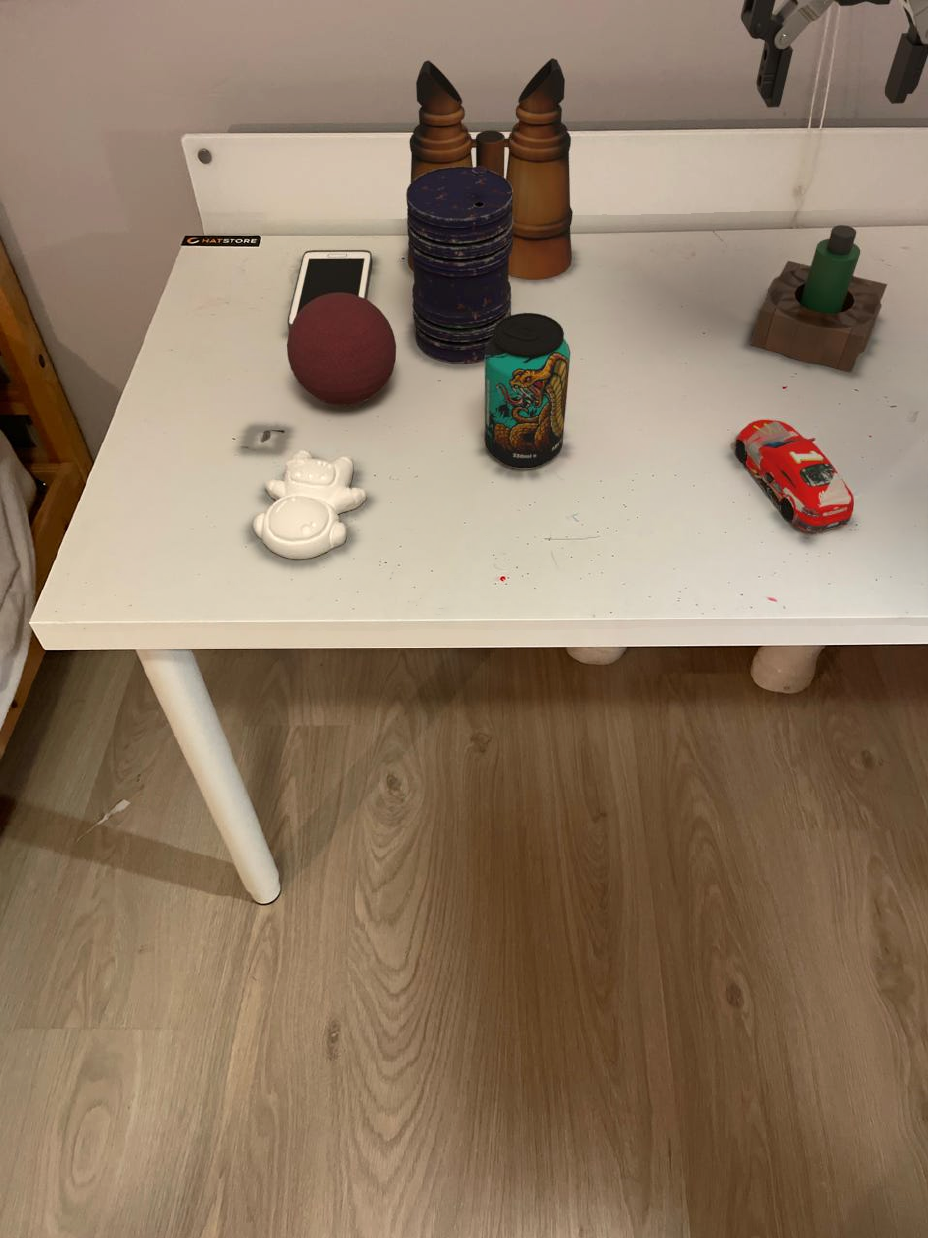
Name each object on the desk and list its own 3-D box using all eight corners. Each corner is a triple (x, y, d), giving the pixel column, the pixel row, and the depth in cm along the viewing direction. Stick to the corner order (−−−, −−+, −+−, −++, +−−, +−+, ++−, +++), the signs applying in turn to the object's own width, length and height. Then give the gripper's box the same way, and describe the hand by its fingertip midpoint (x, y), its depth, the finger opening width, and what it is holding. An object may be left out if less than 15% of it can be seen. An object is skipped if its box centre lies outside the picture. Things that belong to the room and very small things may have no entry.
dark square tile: (279, 453, 85) (276, 444, 84) (247, 452, 85) (244, 443, 84) (284, 430, 87) (282, 421, 86) (253, 429, 87) (250, 420, 86)
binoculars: (406, 280, 102) (391, 84, 86) (409, 241, 107) (396, 49, 91) (574, 278, 101) (590, 81, 86) (569, 239, 107) (583, 46, 91)
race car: (723, 443, 84) (732, 407, 81) (777, 430, 85) (788, 395, 82) (797, 543, 76) (810, 508, 73) (856, 528, 77) (871, 493, 74)
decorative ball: (280, 382, 91) (261, 290, 83) (372, 351, 94) (362, 259, 86) (321, 440, 85) (305, 348, 78) (418, 405, 88) (411, 312, 81)
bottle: (837, 326, 95) (871, 225, 87) (827, 347, 93) (861, 245, 85) (798, 316, 96) (828, 215, 88) (787, 336, 94) (817, 235, 86)
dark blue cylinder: (395, 330, 96) (380, 153, 82) (470, 296, 100) (468, 121, 86) (453, 377, 91) (448, 197, 77) (530, 339, 95) (538, 161, 81)
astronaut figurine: (381, 471, 83) (378, 445, 80) (332, 569, 76) (327, 543, 73) (290, 454, 84) (285, 428, 82) (234, 548, 77) (226, 522, 75)
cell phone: (373, 257, 105) (372, 249, 104) (362, 334, 95) (361, 325, 95) (305, 257, 105) (303, 249, 104) (287, 334, 96) (285, 325, 95)
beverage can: (538, 483, 81) (546, 369, 72) (470, 456, 84) (468, 342, 74) (575, 437, 85) (587, 323, 76) (509, 413, 87) (512, 299, 78)
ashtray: (878, 318, 96) (891, 283, 93) (853, 375, 90) (866, 339, 87) (776, 292, 99) (785, 257, 96) (746, 346, 93) (755, 310, 90)
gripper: (807, -190, 49) (741, 129, 62) (1076, -199, 49) (954, 121, 62) (772, -221, 54) (717, 81, 66) (1017, -229, 54) (916, 74, 66)
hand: (832, 100), depth 64 cm, fingers open, 8 cm apart
